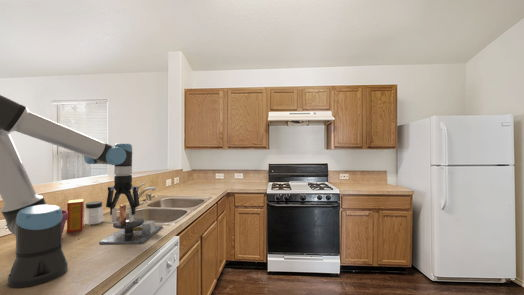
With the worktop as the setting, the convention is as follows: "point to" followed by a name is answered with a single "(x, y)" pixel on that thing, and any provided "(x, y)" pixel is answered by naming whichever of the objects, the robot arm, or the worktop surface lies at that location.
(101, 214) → the jar
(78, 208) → the baking soda box
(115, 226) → the handwheel
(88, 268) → the worktop surface
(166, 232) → the worktop surface
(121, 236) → the dark grey flat piece
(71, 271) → the worktop surface
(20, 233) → the robot arm
